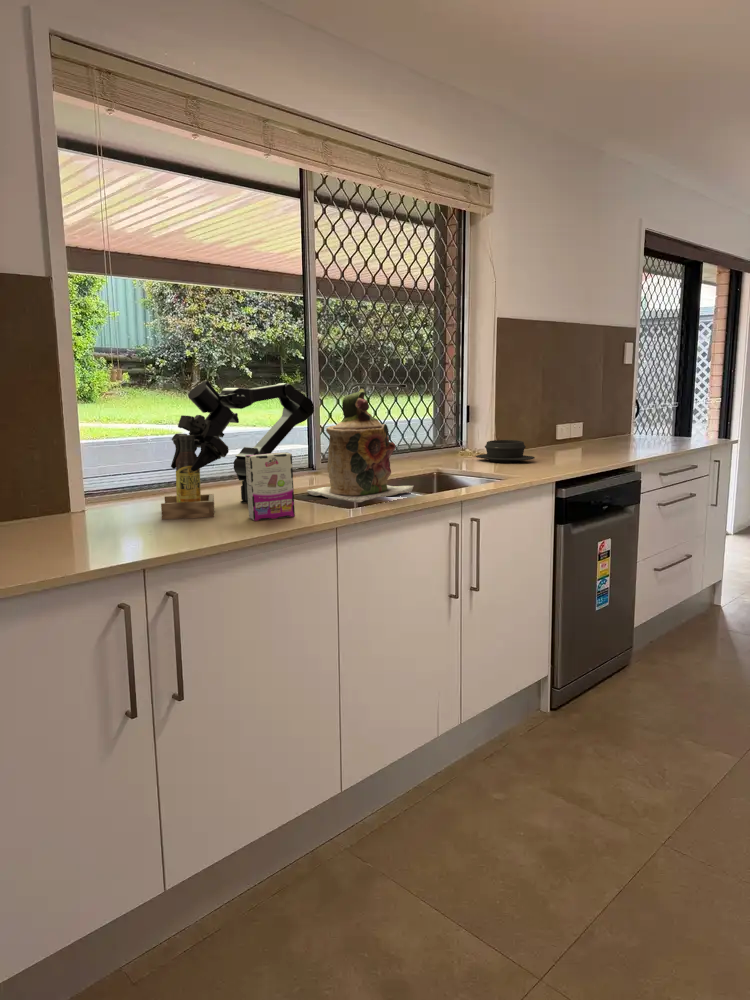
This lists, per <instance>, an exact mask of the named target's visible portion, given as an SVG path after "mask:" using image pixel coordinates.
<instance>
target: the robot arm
mask: <svg viewBox="0 0 750 1000" xmlns="http://www.w3.org/2000/svg"><path fill="white" fill-rule="evenodd" d="M187 395H188V396H187V397H188V398H189V400H190V401H191V402H192V403H193V404H194V406H196V407H197V408H198V409H199V411H201V413H203V414H205V413H206V414H207V413H208V414H207V416H206V417H205V416H204V415H202V414H196V415H195V416H193V415H192V416H191V415H183V414H182V415H181V416H180V419H179V420H178V425H177V427H178V428H179V429H183V430H186V431H188V433H175V434H174V435H173V437H172V438H171V441H172V442H173V445H174V446H175V447H174V448H175V450H174V455H173V459H172V462H171V464H170V468H172V470H174V469H175V470H176V459H177V457H178V455H179V453H180V441H179V435H194V436H195V441H194V449H195V452H197V450H198V448H199V449H200V452H199V454H198V455H197V458H196V460H195V462H194V463H193V465H192V467H191V470H192V471H193V472H194V471H196V470H198V469H200V470H201V468H204V467H205V466H207V465H210V464H211V463H213V462H216V461H217V460H220V459H221V458H226V457H227V455H228V454H229V446H228V445H227V444H226V442H224V440H222V439H221V438H223V437H224V436H225V433H223V432H224V431H225V430H226V428H227V427H228V426H229V424H230V423H232V424H233V423H234V424H239V423H240V421H239V417H238V416H239V415H238V413H237V412H233V411H232V410H233V409H234V410H242V409H245V408H248V407H250V406H252V405H253V404H254V403H257V402H262V401H268V400H273V399H278V400H279V402H280V405H281V406H282V412H281V413H282V414H281V416H280V417H279V418H278V419H277V420H276V421H275V423H274V424H273V426H271V428H270V429H269V430H268V431H267V432H266V433H265V434H264V435H263V437H261V439H260V440H259V441H257V443H256V444H255V445H254V446H253V447H248V446H244V447H243V448H242V449H241V450H240V452H239V453H238V454H236V455H235V459H234V461H233V471H234V472H235V474H236V476H237V479H238V481H241V486H240V497H241V498H240V499H241V500H240V504H248V494H247V477H246V461H245V456H246V455H258V454H270V453H273V452H274V451H275V449H276V448H277V447H278V446H279V445H280V443H281V442H283V440H284V439H285V438H286V437H287V435H289V434H290V432H291V431H292V430H293V429H294V428H295V427H296V426H297V425H299V424H301V423H303V422H305V421H307V419H309V418H310V417H312V415H313V414H314V412H315V406H314V402H313V401H312V400H311V398H308V396H307V395H305V394H303V393H302V392H301V391H299V390H297V389H296V388H295V387H294V386H293V385H292V384H290V383H288V382H285V383H282V382H279V383H277V384H273V385H272V384H270V385H265V386H258V387H253V388H247V387H246V388H244V387H225V388H223V389H222V390H221V392H218V391H216V389H215V387H213V386H212V384H211V383H210V382H209V380H202V382H201V383H199V384H197V385H196V386H195V387H194V388H191V389H190V391H189V393H188V394H187Z"/></svg>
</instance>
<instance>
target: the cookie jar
mask: <svg viewBox="0 0 750 1000" xmlns="http://www.w3.org/2000/svg"><path fill="white" fill-rule="evenodd" d="M365 393H366V392H365V389H364V388H359V391H358V392H353V393H350V394H348V395H346V396H345V397H343V399H342V403H341V406H342V407H341V411H342V413H343V418H342V421H340V422H338V423H337V424H335V425H330V426H328V427H326V428H325V431H326V433H327V434H328V435H329V441H328V442H329V445H328V447H327V448H328V449H327V450H328V453H327V454H328V455H327V460H328V461H327V465H326V467H327V474H328V479H329V483H330V486H324V487H323V486H322V487H318V488H313V489H306V493H307V494H308V496H309V495H311V496H316V497H317V496H321V497H325V498H329V499H334V500H341V501H347V502H353V503H363V502H365V501H371V500H374V499H377V498H384V497H385V498H386V497H391V496H392V497H393V496H396V495H401V494H405V493H407V494H408V493H411V492H412V491H413V488H414V485H398V486H395V485H394V486H393V485H388V479H389V477H390V476H391V474H392V468H391V461H390V458H391V456H392V455H393V453H394V451H395V450H396V448H397V447H396V444H395V443H394V442H391V441H390V438H389V432H390V431H389V427H388V425H387V424H386V423H383V424H382V423H381V422H380V421H379V419H377V418H376V417H374V416H373V415H372V414H371V413H370V412H369V409H370V405H369V402H368V400H367V399H365Z"/></svg>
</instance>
